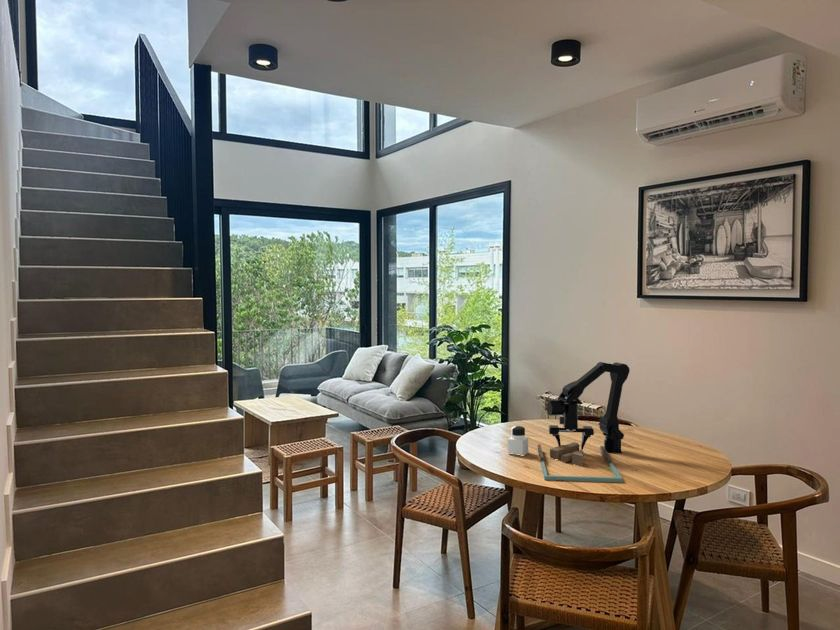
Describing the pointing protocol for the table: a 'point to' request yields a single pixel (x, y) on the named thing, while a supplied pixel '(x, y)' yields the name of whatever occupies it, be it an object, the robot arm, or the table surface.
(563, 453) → the wooden block set
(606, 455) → the pair of brown bars
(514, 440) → the medicine bottle
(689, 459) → the table surface
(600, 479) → the frame
